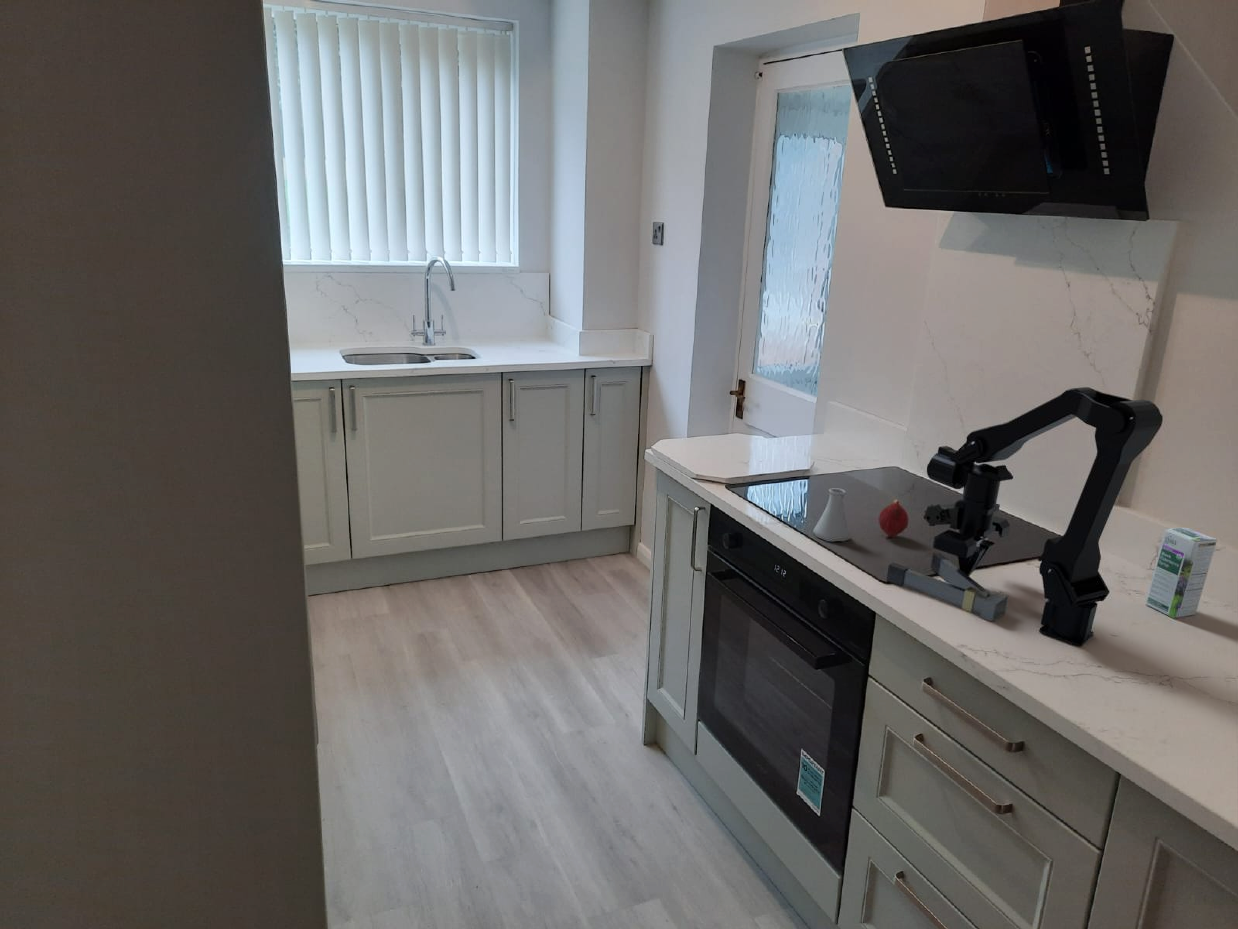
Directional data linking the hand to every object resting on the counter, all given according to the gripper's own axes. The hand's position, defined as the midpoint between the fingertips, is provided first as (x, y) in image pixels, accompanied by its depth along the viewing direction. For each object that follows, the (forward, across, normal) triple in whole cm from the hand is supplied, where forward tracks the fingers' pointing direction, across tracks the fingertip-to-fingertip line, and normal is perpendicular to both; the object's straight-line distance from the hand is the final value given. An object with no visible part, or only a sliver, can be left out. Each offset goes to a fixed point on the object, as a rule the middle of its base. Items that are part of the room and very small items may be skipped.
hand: (964, 577), depth 156 cm
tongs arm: (+1, +3, +1) cm, 4 cm away
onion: (+1, -10, -20) cm, 22 cm away
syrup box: (+1, -19, +29) cm, 35 cm away
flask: (+1, 0, -28) cm, 28 cm away
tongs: (+1, +9, 0) cm, 9 cm away
